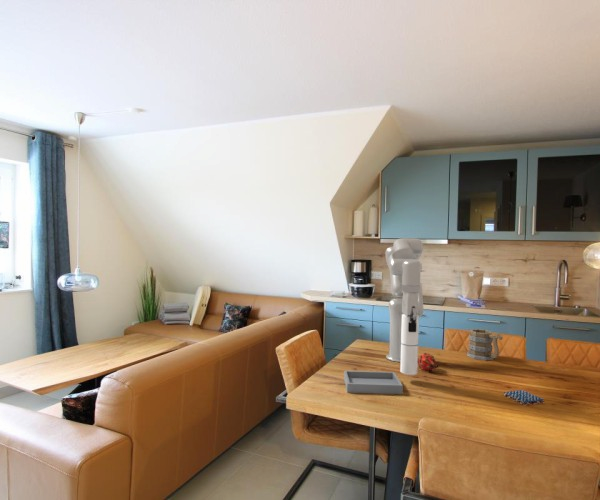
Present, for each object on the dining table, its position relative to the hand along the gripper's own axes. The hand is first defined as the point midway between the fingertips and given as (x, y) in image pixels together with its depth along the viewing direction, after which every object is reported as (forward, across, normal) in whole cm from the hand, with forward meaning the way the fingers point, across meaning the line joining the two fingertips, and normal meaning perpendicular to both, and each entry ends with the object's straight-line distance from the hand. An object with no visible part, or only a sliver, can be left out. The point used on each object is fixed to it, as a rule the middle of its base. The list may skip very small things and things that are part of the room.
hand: (409, 329), depth 167 cm
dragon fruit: (+24, -16, +13) cm, 31 cm away
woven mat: (+23, +16, +41) cm, 50 cm away
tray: (+23, +7, -17) cm, 29 cm away
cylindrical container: (+19, 0, 0) cm, 19 cm away
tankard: (+24, -38, +50) cm, 67 cm away
